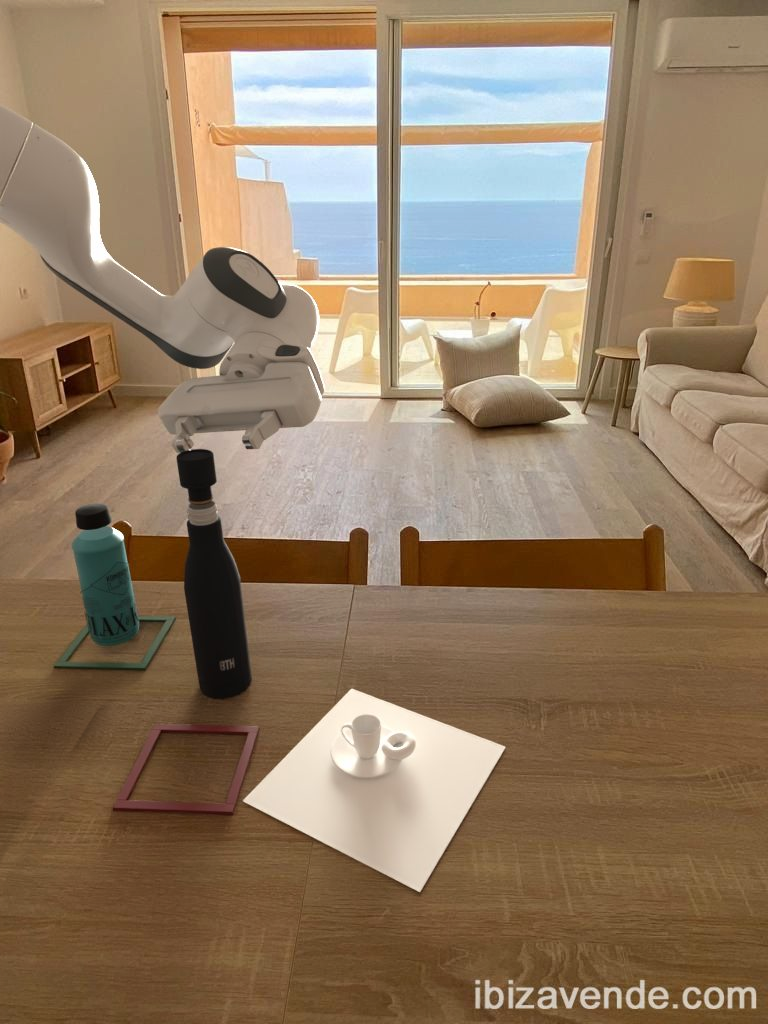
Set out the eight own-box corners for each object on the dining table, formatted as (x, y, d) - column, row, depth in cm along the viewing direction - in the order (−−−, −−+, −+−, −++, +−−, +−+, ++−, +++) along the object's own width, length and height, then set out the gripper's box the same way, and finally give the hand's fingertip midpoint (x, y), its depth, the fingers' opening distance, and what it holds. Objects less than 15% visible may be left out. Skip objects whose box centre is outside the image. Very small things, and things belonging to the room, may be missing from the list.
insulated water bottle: (224, 661, 90) (194, 441, 78) (262, 676, 87) (238, 450, 75) (188, 688, 85) (150, 458, 73) (227, 706, 82) (194, 469, 70)
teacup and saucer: (424, 745, 76) (424, 716, 74) (387, 795, 69) (386, 764, 68) (356, 718, 80) (355, 690, 78) (315, 763, 74) (313, 733, 72)
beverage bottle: (82, 653, 92) (50, 516, 84) (111, 625, 98) (84, 495, 90) (125, 659, 91) (97, 521, 82) (152, 631, 97) (129, 499, 88)
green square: (54, 668, 89) (53, 665, 89) (94, 617, 100) (94, 614, 100) (145, 670, 89) (144, 668, 88) (176, 618, 99) (175, 616, 99)
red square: (112, 810, 68) (112, 807, 68) (155, 726, 79) (155, 723, 79) (232, 814, 68) (232, 811, 67) (259, 728, 79) (259, 726, 78)
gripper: (177, 361, 89) (125, 430, 80) (320, 346, 82) (281, 420, 73) (198, 400, 94) (152, 470, 85) (337, 389, 86) (302, 464, 77)
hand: (213, 446), depth 79 cm, fingers open, 8 cm apart
